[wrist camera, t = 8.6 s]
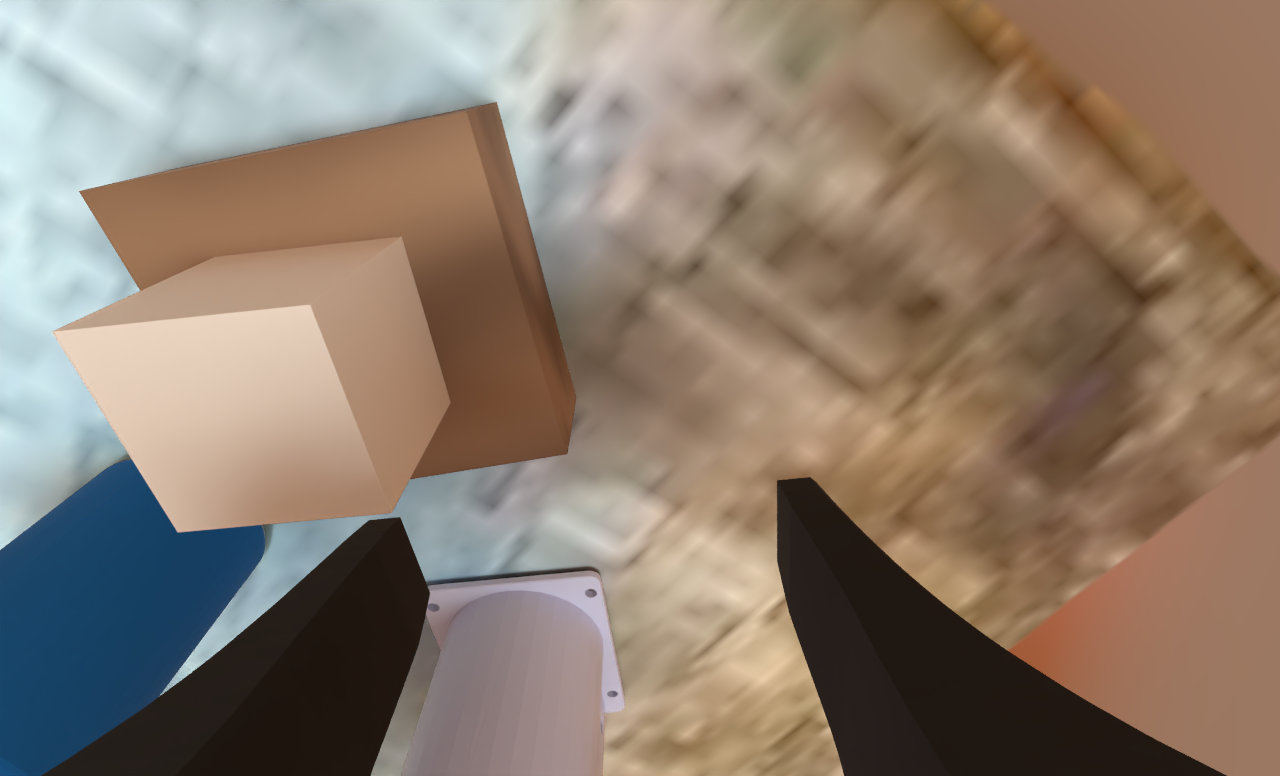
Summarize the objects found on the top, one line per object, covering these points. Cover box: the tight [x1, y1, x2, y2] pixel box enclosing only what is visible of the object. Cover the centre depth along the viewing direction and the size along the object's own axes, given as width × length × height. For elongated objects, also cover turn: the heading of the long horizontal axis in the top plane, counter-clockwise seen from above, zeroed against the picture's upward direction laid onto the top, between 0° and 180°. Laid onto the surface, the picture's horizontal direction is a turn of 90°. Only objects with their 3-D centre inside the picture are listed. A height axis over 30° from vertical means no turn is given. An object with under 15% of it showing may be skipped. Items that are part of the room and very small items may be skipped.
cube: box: [52, 237, 451, 532], centre depth 14 cm, size 5×5×5 cm
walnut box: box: [79, 102, 576, 479], centre depth 19 cm, size 10×10×4 cm
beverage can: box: [0, 459, 266, 776], centre depth 19 cm, size 6×6×12 cm
